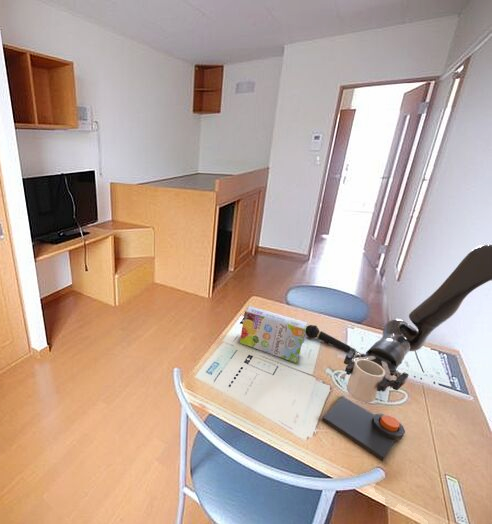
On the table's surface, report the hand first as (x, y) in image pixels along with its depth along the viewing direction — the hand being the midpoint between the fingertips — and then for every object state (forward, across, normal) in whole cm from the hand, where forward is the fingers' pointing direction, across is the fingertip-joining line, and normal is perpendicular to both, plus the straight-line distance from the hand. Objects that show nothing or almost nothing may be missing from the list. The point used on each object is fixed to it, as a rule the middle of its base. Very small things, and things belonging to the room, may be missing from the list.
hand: (363, 379), depth 80 cm
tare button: (-7, +7, +14) cm, 18 cm away
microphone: (-35, -20, +18) cm, 43 cm away
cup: (-2, 0, +6) cm, 6 cm away
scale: (-3, +2, +17) cm, 17 cm away
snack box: (-12, -32, +17) cm, 39 cm away
